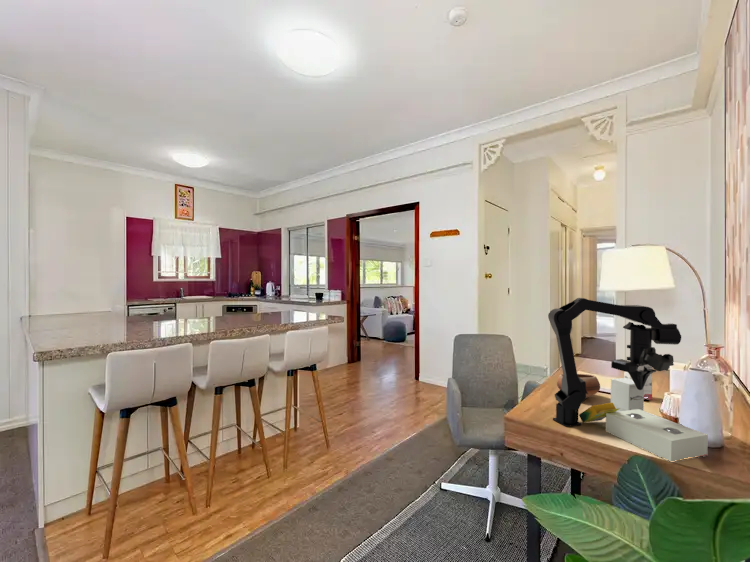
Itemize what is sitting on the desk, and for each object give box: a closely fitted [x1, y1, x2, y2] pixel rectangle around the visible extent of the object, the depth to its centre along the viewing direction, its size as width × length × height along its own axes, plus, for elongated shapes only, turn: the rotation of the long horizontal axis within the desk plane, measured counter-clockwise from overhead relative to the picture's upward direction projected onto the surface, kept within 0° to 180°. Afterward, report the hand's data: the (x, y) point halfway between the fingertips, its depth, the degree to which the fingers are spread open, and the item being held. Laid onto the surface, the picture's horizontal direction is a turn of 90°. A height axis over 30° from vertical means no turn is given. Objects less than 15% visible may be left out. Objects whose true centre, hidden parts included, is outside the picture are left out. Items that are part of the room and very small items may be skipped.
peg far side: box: [666, 427, 679, 434], centre depth 103 cm, size 3×3×6 cm
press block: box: [605, 409, 709, 461], centre depth 109 cm, size 14×20×6 cm
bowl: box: [556, 373, 601, 398], centre depth 149 cm, size 16×16×10 cm
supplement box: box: [610, 377, 645, 412], centre depth 130 cm, size 7×7×13 cm
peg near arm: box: [630, 413, 642, 419], centre depth 114 cm, size 3×3×6 cm
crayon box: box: [578, 402, 620, 424], centre depth 120 cm, size 7×3×12 cm
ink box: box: [623, 371, 653, 401], centre depth 149 cm, size 9×5×12 cm, turn 84°
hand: (639, 389), depth 119 cm, fingers closed
